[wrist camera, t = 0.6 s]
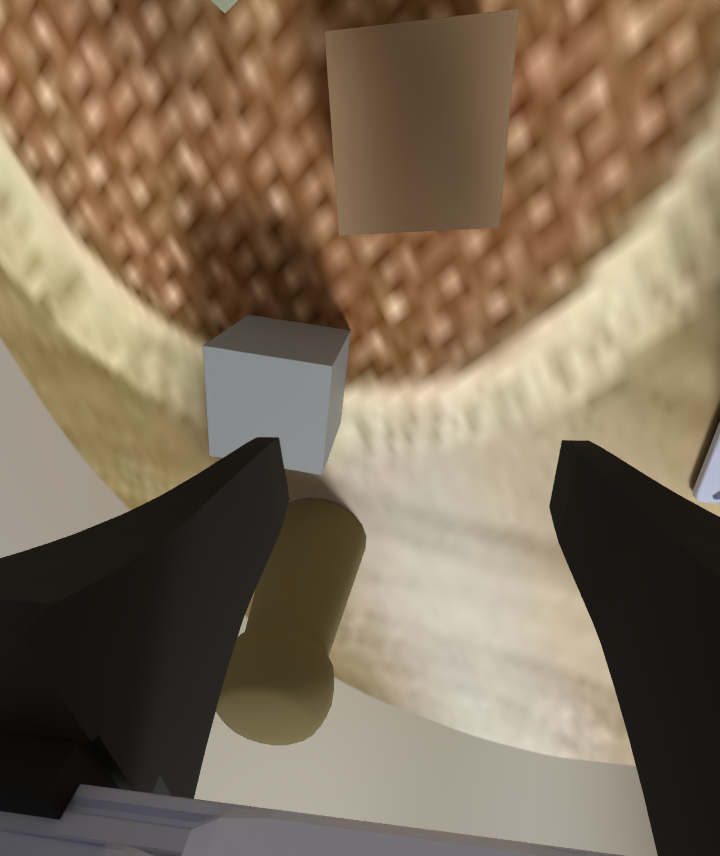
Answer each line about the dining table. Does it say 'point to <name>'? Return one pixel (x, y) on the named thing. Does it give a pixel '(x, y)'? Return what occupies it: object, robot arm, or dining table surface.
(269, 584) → the olive brown rounded piece
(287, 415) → the slate grey block
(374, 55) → the walnut block
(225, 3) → the sage green block
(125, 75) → the dining table surface
